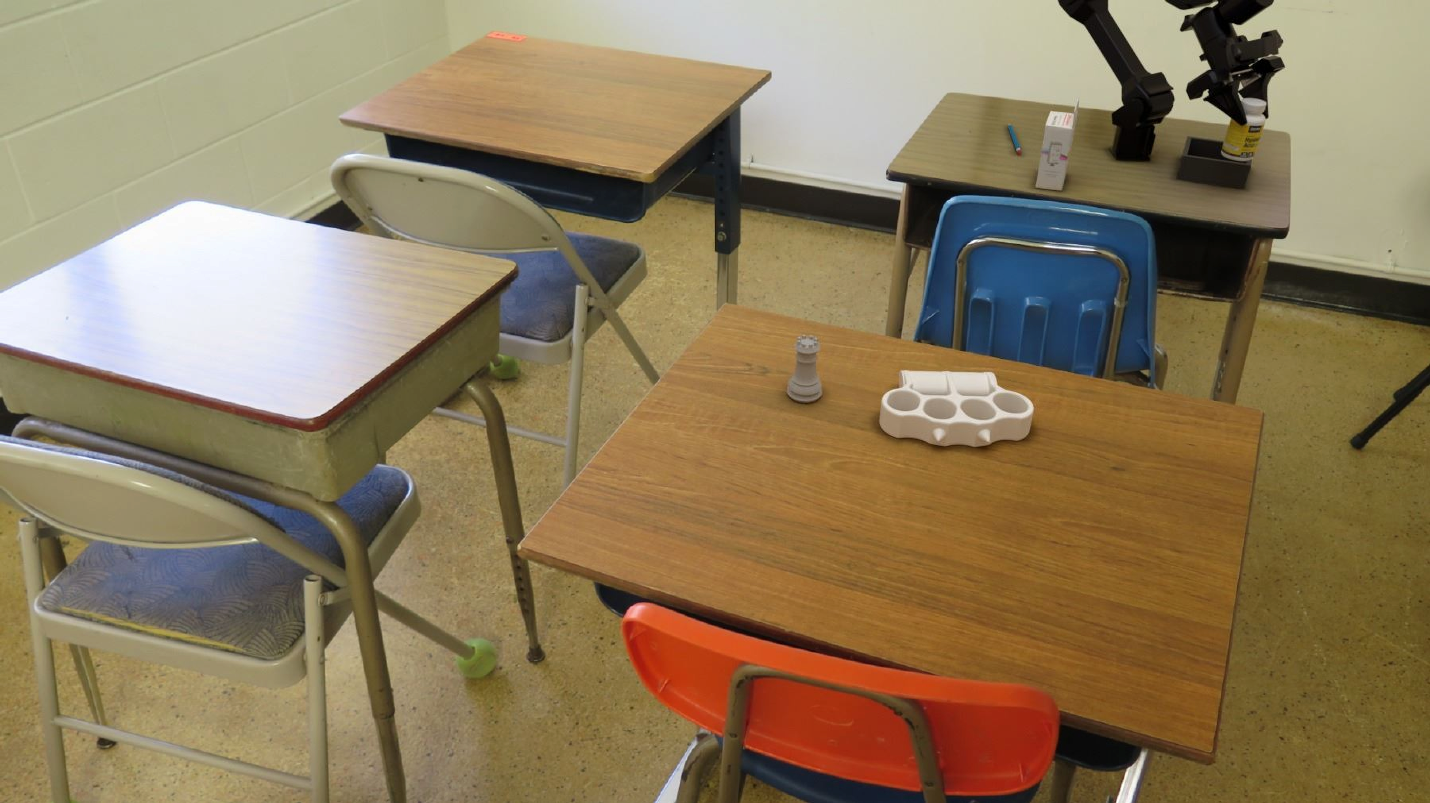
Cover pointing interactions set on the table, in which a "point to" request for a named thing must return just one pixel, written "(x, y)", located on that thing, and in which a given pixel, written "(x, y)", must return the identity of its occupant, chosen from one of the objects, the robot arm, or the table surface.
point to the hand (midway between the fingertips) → (1255, 122)
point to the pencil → (1014, 139)
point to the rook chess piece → (805, 372)
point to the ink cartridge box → (1056, 149)
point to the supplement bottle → (1245, 132)
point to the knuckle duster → (954, 409)
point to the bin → (1211, 164)
